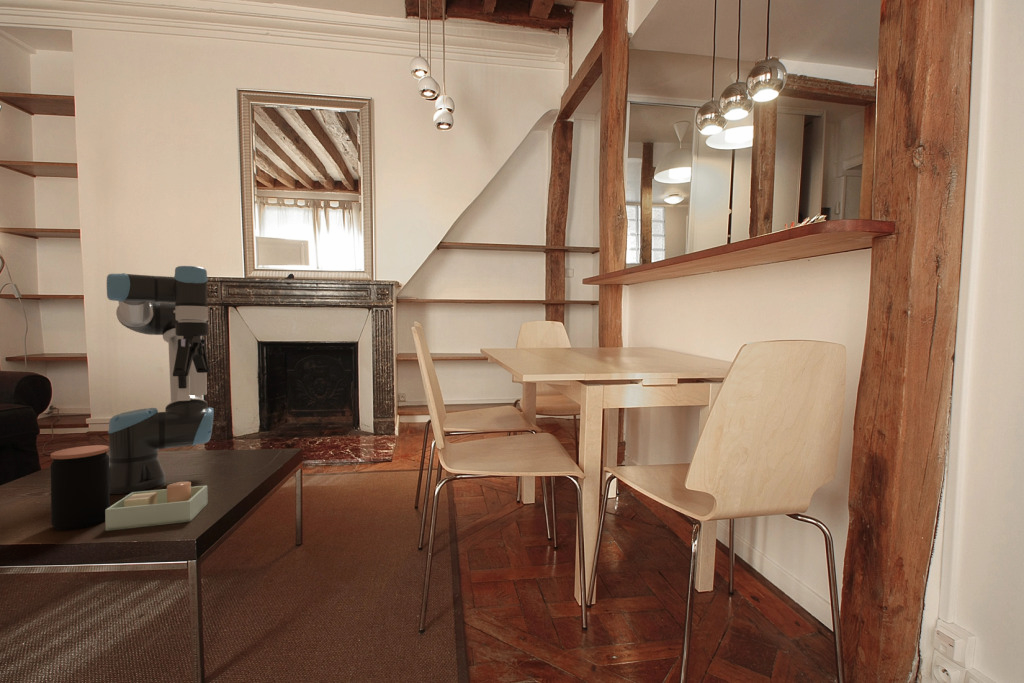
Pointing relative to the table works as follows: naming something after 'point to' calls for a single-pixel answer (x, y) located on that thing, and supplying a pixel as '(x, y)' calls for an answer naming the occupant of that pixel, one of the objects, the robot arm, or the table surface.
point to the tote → (155, 510)
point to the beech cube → (141, 499)
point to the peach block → (179, 492)
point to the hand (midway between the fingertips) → (193, 397)
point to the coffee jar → (79, 487)
